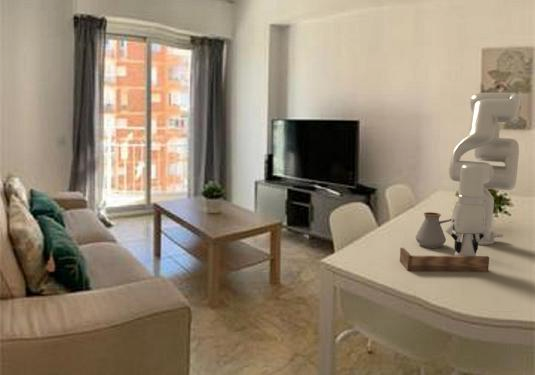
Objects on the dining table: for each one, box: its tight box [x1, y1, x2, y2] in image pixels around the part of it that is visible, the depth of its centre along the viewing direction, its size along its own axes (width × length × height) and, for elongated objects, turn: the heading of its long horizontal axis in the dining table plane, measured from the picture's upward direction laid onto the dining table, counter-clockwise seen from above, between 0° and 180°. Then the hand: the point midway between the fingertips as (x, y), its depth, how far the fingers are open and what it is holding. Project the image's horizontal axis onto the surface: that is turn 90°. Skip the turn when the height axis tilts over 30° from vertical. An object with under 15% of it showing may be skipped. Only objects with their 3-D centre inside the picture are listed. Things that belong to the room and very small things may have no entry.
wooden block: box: [399, 247, 490, 273], centre depth 163 cm, size 27×10×5 cm, turn 90°
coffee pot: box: [415, 211, 452, 249], centre depth 183 cm, size 21×12×15 cm, turn 54°
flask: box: [453, 234, 477, 256], centre depth 162 cm, size 7×7×10 cm
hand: (465, 251), depth 163 cm, fingers closed on flask, 4 cm apart
